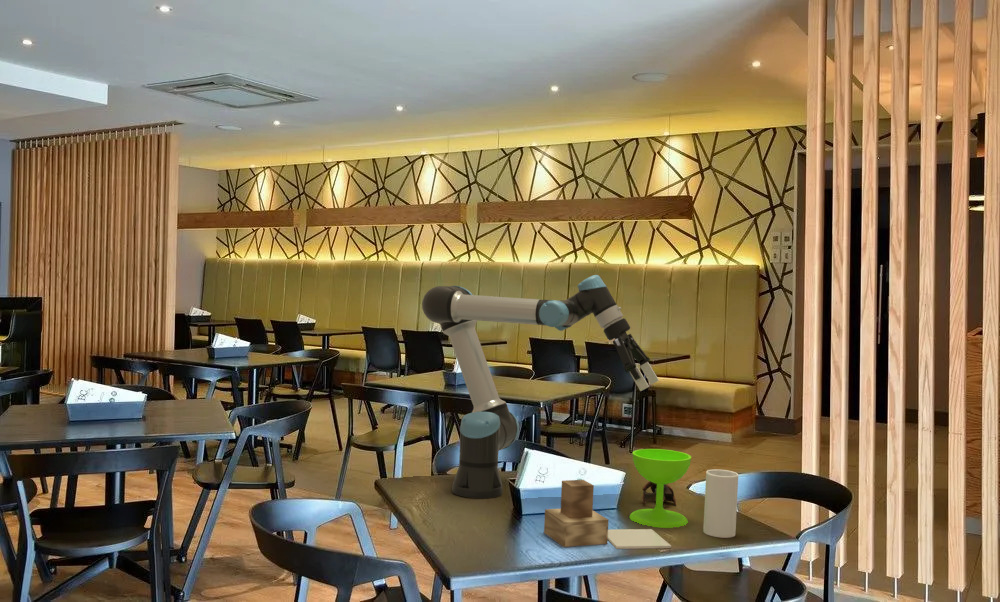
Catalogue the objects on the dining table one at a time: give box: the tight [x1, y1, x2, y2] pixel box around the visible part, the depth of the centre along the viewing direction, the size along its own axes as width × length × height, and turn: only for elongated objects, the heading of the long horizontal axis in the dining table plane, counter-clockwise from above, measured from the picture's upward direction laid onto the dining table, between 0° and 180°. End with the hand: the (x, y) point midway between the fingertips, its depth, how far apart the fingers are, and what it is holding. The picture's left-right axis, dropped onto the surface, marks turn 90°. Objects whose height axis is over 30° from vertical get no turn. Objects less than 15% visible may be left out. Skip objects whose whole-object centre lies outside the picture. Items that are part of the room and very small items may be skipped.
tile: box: [607, 528, 672, 550], centre depth 223 cm, size 14×14×1 cm
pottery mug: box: [641, 481, 677, 506], centre depth 261 cm, size 12×10×8 cm
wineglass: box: [628, 448, 692, 529], centre depth 243 cm, size 16×16×18 cm
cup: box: [702, 468, 739, 539], centre depth 232 cm, size 8×8×16 cm
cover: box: [543, 479, 609, 548], centre depth 222 cm, size 12×12×14 cm
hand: (650, 385), depth 259 cm, fingers open, 13 cm apart
